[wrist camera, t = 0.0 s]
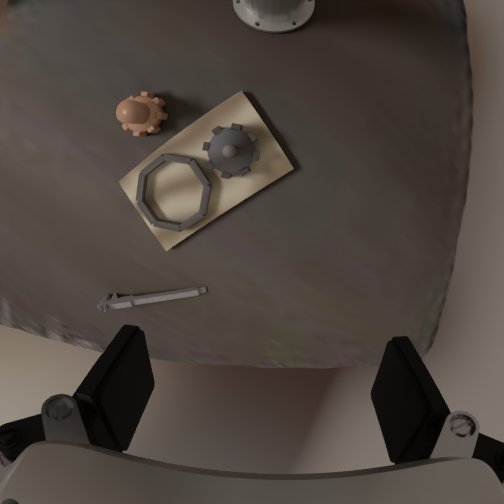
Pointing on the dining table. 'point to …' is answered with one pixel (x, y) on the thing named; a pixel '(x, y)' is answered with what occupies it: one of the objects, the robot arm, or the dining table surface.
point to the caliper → (146, 298)
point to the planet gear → (141, 114)
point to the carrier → (205, 171)
